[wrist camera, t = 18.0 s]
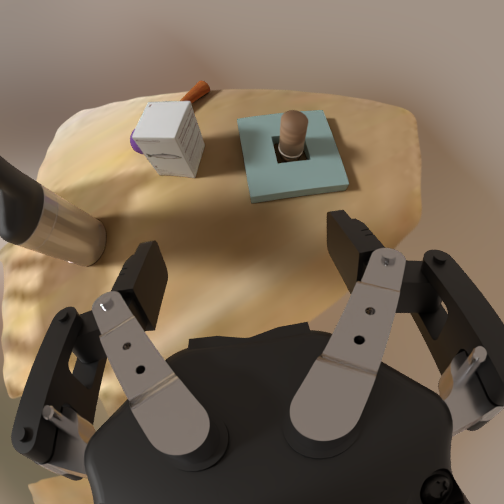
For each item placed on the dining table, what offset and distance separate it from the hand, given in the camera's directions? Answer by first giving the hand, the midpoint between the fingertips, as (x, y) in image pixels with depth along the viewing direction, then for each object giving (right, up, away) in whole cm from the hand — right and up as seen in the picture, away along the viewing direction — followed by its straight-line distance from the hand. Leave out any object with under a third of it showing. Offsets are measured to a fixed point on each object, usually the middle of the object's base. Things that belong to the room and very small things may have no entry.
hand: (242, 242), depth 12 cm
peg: (+7, +16, +33) cm, 37 cm away
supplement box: (-12, +16, +34) cm, 39 cm away
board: (+7, +16, +33) cm, 37 cm away
